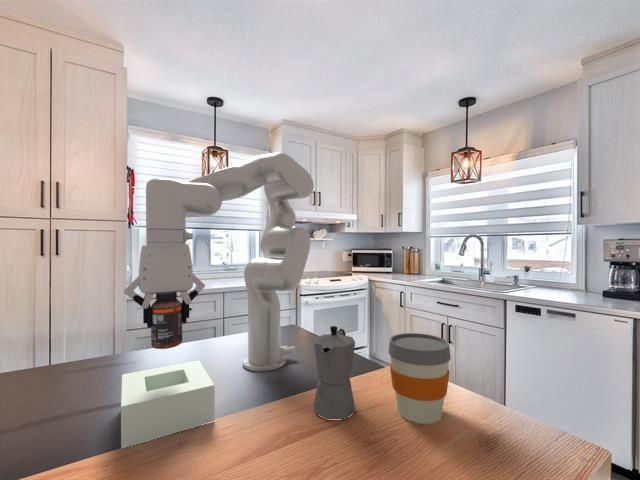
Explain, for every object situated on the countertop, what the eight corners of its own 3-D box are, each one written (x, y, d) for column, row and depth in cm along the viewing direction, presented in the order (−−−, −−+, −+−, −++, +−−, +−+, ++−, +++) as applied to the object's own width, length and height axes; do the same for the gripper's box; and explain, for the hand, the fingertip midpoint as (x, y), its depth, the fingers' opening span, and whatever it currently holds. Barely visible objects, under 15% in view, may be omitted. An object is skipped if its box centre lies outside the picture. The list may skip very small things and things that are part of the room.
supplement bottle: (179, 339, 71) (179, 288, 71) (184, 346, 66) (184, 292, 66) (149, 344, 68) (149, 290, 68) (152, 352, 63) (152, 294, 63)
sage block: (199, 390, 78) (199, 360, 78) (214, 422, 64) (214, 384, 64) (122, 408, 70) (122, 374, 70) (121, 449, 56) (121, 406, 56)
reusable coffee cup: (377, 404, 71) (377, 336, 71) (422, 393, 76) (421, 330, 76) (415, 435, 59) (414, 355, 60) (465, 420, 64) (464, 346, 64)
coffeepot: (349, 430, 61) (348, 336, 61) (303, 422, 64) (302, 332, 64) (362, 394, 76) (362, 318, 76) (325, 388, 79) (324, 315, 79)
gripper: (205, 238, 75) (205, 315, 75) (118, 238, 66) (118, 326, 66) (212, 238, 68) (213, 322, 68) (117, 238, 59) (118, 335, 59)
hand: (166, 323), depth 67 cm, fingers closed on supplement bottle, 5 cm apart
